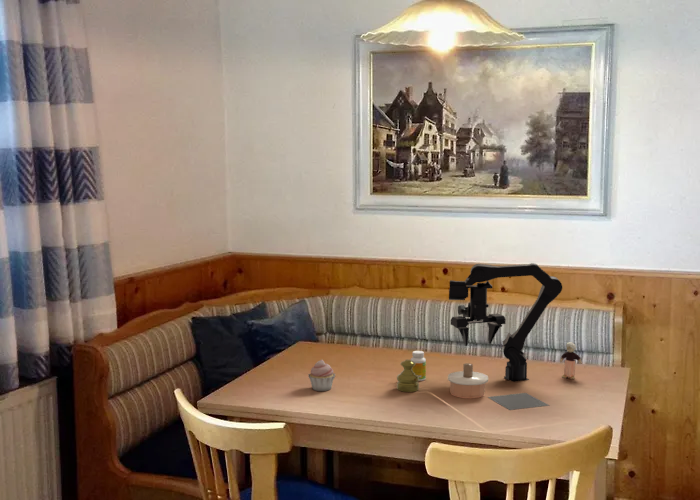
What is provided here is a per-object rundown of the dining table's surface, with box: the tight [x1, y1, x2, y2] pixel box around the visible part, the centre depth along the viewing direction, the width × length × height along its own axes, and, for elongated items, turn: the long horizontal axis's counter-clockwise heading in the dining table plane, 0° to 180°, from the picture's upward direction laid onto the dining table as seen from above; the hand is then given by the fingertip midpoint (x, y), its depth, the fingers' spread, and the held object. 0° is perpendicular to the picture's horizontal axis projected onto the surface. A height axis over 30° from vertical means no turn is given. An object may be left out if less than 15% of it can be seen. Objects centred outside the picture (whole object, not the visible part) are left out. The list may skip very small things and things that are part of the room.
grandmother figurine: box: [559, 341, 583, 380], centre depth 273 cm, size 8×4×13 cm, turn 68°
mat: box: [487, 392, 550, 411], centre depth 246 cm, size 14×14×1 cm
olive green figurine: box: [396, 359, 420, 393], centre depth 261 cm, size 7×7×10 cm
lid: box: [447, 362, 489, 385], centre depth 254 cm, size 13×13×5 cm
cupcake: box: [307, 359, 336, 392], centre depth 262 cm, size 9×9×10 cm
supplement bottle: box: [410, 350, 427, 382], centre depth 273 cm, size 5×5×10 cm
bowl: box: [449, 381, 486, 399], centre depth 255 cm, size 11×11×5 cm
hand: (477, 344), depth 272 cm, fingers open, 9 cm apart
